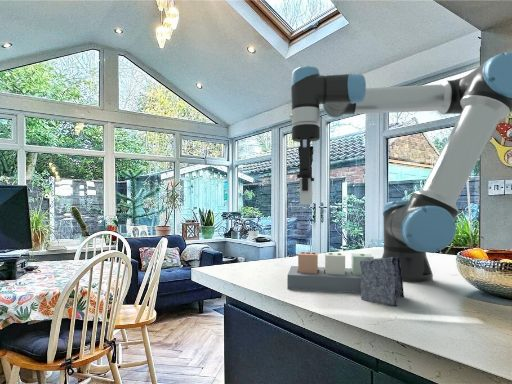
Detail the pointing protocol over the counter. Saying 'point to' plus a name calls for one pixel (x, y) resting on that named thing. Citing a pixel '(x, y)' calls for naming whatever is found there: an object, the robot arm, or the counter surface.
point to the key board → (324, 281)
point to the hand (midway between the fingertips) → (306, 204)
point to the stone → (381, 280)
